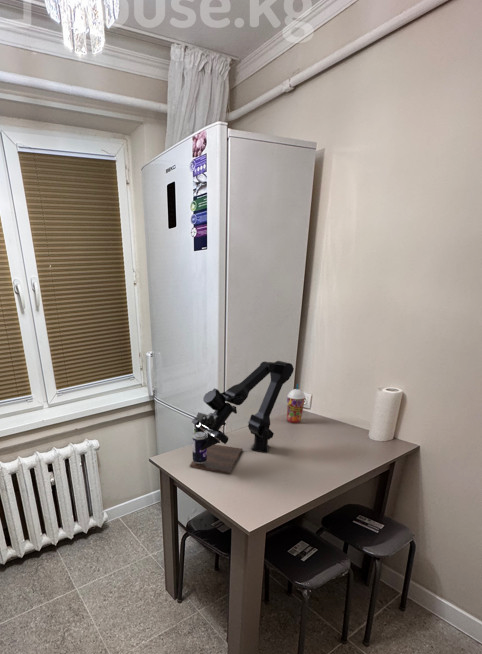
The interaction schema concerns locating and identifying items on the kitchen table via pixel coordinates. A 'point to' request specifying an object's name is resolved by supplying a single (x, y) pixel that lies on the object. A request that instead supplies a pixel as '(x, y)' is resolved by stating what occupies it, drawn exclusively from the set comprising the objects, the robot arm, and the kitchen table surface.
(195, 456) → the beverage can
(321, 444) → the kitchen table surface
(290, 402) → the smoothie
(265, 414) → the robot arm
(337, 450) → the kitchen table surface
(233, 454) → the board
